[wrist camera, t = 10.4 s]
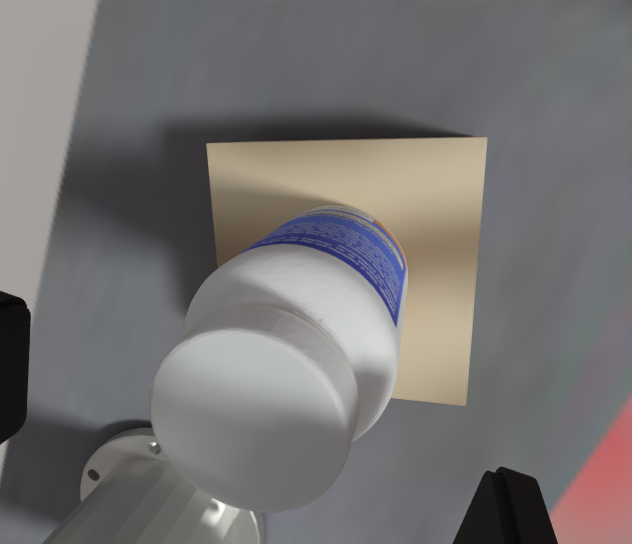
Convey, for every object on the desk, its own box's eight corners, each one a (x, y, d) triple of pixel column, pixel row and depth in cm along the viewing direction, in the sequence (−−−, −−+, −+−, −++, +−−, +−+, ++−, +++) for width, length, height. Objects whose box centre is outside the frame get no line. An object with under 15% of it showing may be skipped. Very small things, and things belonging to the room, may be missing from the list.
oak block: (459, 349, 22) (466, 405, 18) (265, 333, 25) (227, 380, 20) (474, 136, 20) (487, 137, 15) (254, 141, 22) (206, 143, 17)
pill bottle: (261, 209, 17) (78, 290, 8) (406, 197, 16) (371, 279, 7) (281, 340, 19) (142, 530, 10) (415, 339, 18) (396, 560, 8)
